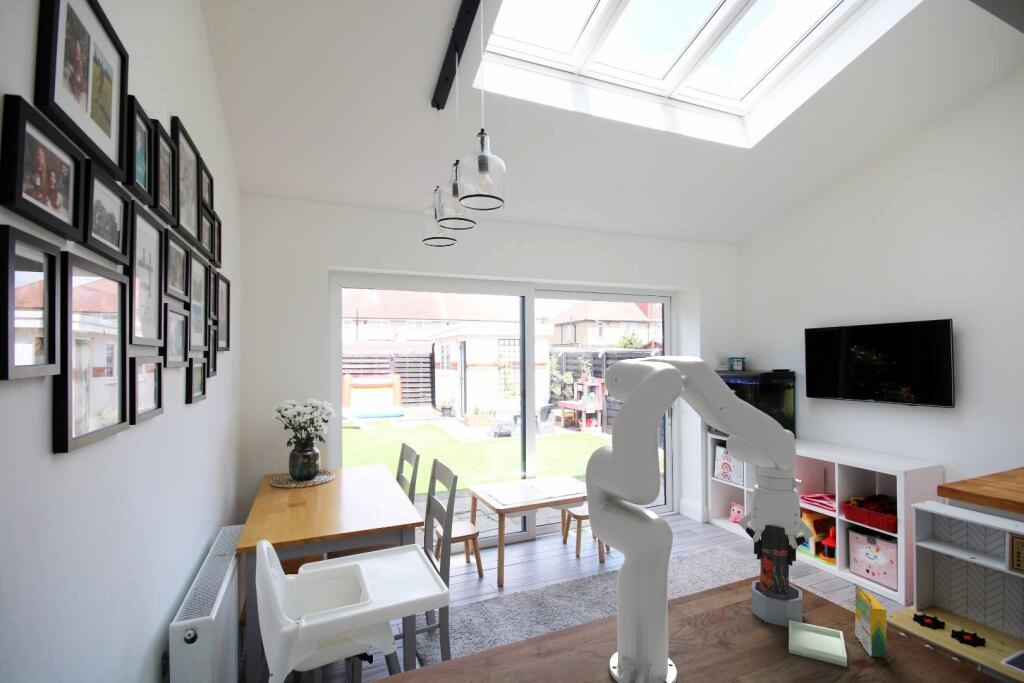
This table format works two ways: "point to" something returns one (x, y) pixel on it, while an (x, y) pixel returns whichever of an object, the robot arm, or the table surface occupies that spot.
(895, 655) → the table surface
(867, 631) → the crayon box
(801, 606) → the grey octagonal container
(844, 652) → the tray
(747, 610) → the table surface
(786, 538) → the deodorant
